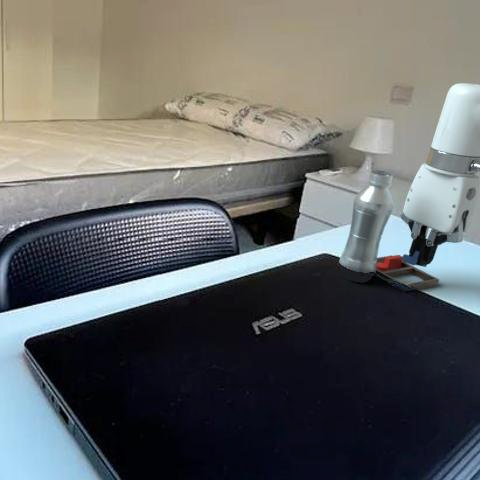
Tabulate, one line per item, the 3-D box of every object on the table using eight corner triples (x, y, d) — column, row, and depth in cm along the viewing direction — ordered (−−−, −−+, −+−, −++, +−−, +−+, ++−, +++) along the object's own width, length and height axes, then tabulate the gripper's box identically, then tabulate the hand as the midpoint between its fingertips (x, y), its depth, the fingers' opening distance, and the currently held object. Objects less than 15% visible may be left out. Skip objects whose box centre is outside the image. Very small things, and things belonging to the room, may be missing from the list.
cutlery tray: (389, 263, 99) (391, 255, 98) (436, 288, 90) (439, 279, 90) (357, 269, 95) (359, 260, 95) (403, 295, 87) (405, 286, 86)
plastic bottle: (378, 280, 91) (408, 174, 83) (363, 291, 87) (394, 181, 79) (344, 267, 95) (370, 165, 87) (328, 278, 91) (354, 171, 83)
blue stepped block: (417, 263, 92) (423, 251, 91) (428, 268, 90) (435, 257, 89) (398, 258, 89) (404, 246, 88) (409, 264, 87) (416, 252, 86)
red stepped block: (392, 264, 97) (396, 253, 96) (403, 269, 95) (406, 258, 94) (370, 268, 95) (373, 256, 94) (380, 273, 93) (384, 262, 92)
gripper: (512, 174, 78) (472, 279, 85) (426, 150, 90) (398, 242, 98) (482, 176, 75) (443, 285, 82) (398, 150, 87) (370, 246, 94)
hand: (418, 261), depth 90 cm, fingers closed on blue stepped block, 1 cm apart
